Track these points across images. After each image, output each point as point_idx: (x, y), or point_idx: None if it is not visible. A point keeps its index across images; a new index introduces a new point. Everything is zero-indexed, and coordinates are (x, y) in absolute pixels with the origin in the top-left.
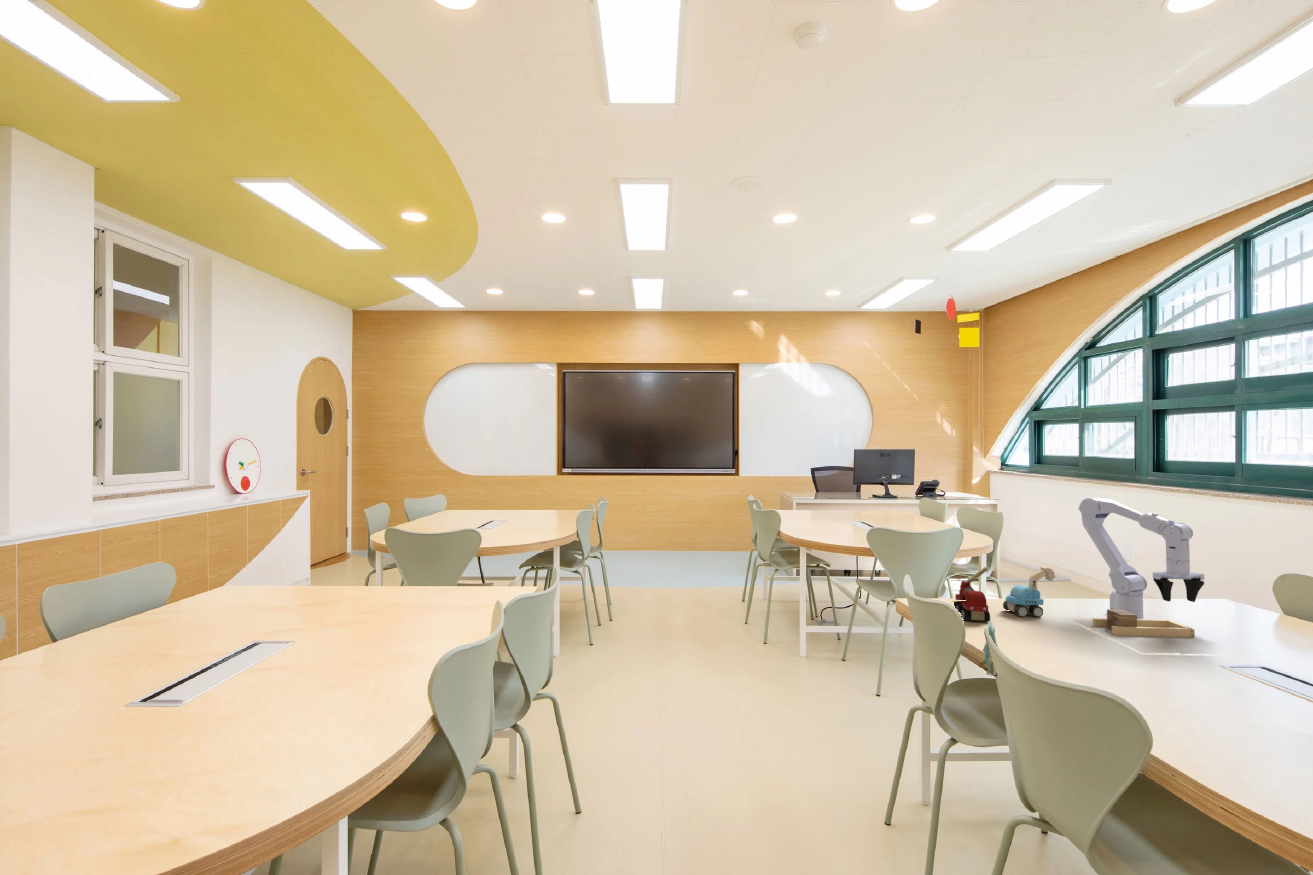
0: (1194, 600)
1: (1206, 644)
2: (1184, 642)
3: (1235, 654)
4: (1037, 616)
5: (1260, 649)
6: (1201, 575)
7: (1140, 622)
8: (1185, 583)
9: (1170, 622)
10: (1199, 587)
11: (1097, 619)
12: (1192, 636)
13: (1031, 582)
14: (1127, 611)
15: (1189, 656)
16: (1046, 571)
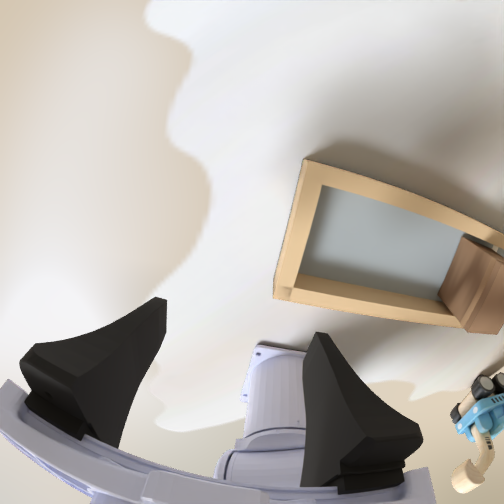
0: (156, 300)
1: (331, 94)
2: (391, 133)
3: (336, 5)
4: (482, 376)
5: (178, 34)
6: (2, 417)
7: (391, 300)
8: (122, 423)
9: (296, 271)
10: (82, 343)
11: None
12: (312, 161)
13: (492, 444)
14: (479, 310)
15: (482, 56)
16: (481, 475)
